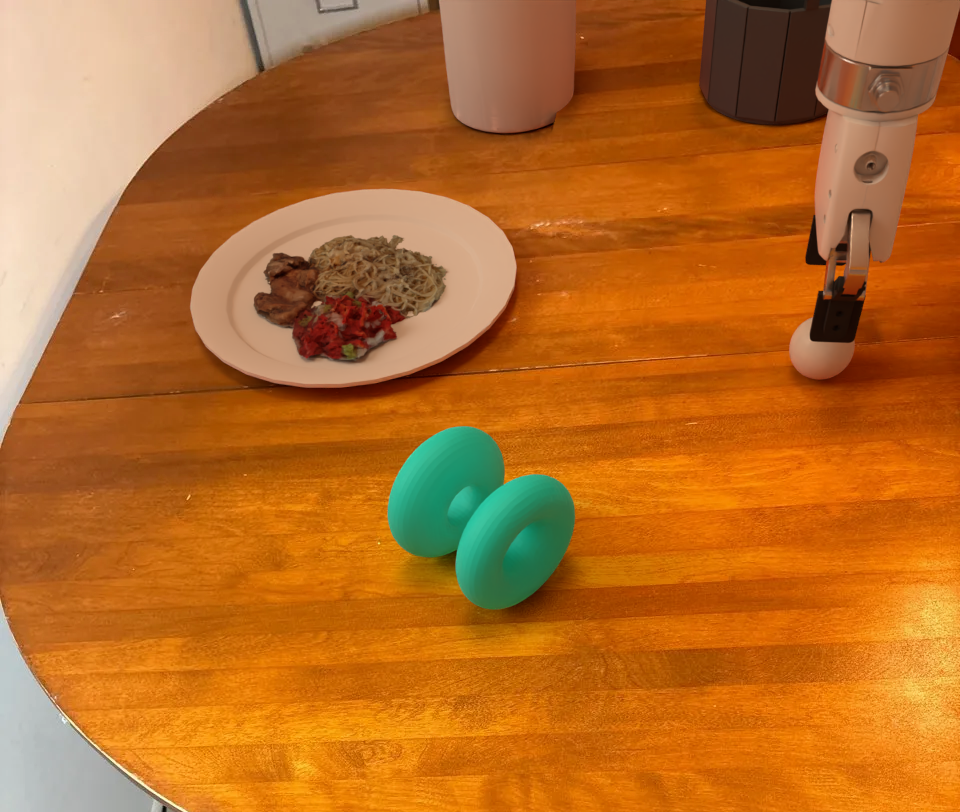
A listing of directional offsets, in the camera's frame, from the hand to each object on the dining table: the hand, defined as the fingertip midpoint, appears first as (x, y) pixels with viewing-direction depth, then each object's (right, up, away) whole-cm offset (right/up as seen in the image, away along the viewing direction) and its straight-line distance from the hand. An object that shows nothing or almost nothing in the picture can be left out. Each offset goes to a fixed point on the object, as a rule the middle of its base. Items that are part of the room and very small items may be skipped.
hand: (828, 300), depth 81 cm
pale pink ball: (+1, -3, +4) cm, 5 cm away
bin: (+5, +33, +32) cm, 46 cm away
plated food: (-38, +6, +17) cm, 42 cm away
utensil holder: (-23, +34, +37) cm, 55 cm away
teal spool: (-26, -21, -4) cm, 34 cm away
